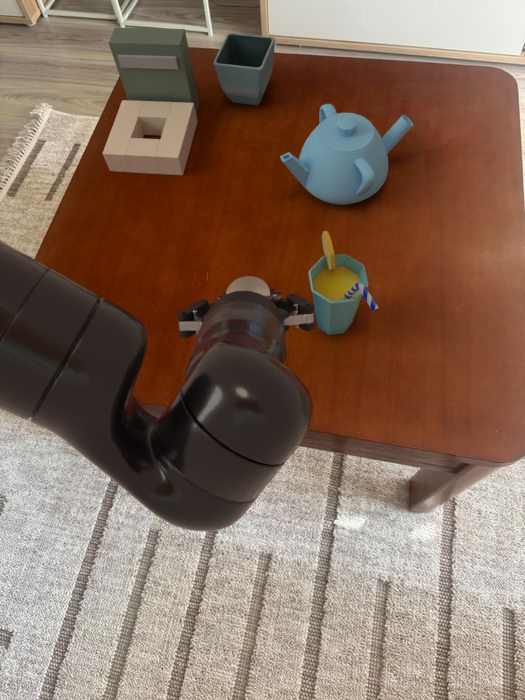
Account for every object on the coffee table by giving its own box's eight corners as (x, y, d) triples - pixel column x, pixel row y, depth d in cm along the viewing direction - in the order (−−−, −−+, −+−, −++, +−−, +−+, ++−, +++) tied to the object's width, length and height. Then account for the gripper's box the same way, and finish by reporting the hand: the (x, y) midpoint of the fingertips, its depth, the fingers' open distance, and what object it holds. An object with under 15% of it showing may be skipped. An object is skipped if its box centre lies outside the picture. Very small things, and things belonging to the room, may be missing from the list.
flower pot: (233, 77, 101) (227, 31, 93) (278, 82, 99) (275, 36, 91) (219, 108, 97) (212, 63, 89) (265, 114, 96) (262, 69, 88)
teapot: (383, 225, 83) (394, 171, 73) (280, 200, 86) (277, 146, 76) (407, 156, 89) (420, 98, 79) (309, 136, 93) (310, 78, 82)
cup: (387, 349, 73) (406, 291, 60) (339, 374, 72) (348, 321, 59) (334, 277, 79) (341, 209, 66) (289, 299, 78) (287, 234, 64)
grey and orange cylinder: (231, 349, 64) (222, 311, 56) (238, 315, 66) (229, 274, 58) (271, 353, 63) (266, 315, 55) (276, 318, 65) (272, 277, 57)
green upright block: (132, 117, 98) (107, 44, 85) (138, 100, 100) (114, 27, 87) (195, 119, 96) (179, 46, 84) (199, 103, 98) (184, 28, 86)
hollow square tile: (109, 171, 92) (102, 153, 88) (128, 118, 98) (122, 99, 94) (183, 175, 90) (178, 157, 87) (197, 121, 96) (193, 102, 92)
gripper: (324, 295, 43) (310, 262, 59) (152, 306, 44) (185, 270, 60) (327, 380, 45) (313, 326, 62) (163, 389, 46) (192, 333, 62)
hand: (250, 298), depth 61 cm, fingers closed on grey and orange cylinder, 4 cm apart
